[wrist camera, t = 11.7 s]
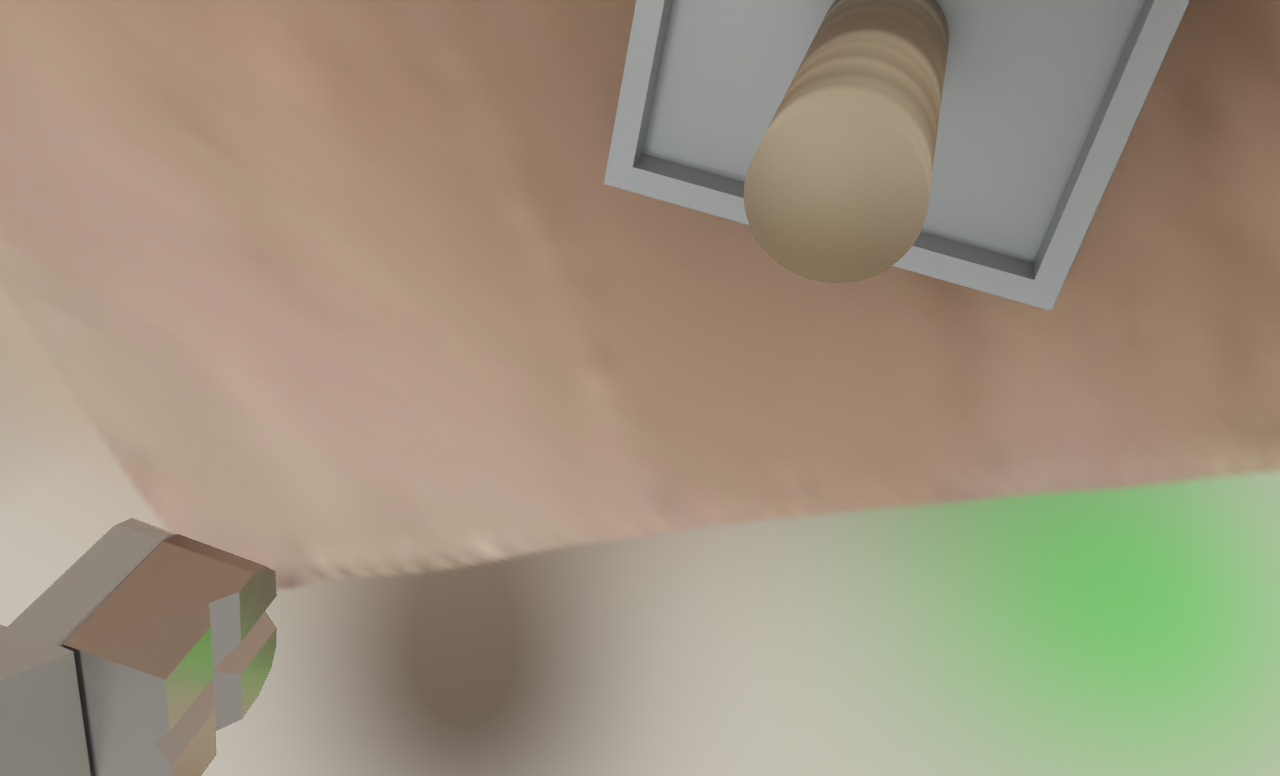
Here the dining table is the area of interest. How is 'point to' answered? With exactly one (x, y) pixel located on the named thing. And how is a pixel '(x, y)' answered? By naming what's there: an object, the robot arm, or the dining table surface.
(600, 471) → the dining table surface
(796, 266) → the dowel
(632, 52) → the tray
